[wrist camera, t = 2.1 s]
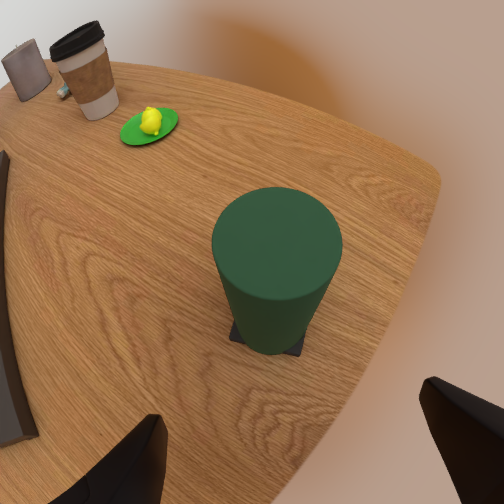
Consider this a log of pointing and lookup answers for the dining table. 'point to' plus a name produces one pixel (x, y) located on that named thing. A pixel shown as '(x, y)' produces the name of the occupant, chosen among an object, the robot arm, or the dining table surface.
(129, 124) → the green flat round tray
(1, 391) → the shoe shelf
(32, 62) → the pillar candle
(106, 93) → the coffee cup
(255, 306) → the green cylinder on block
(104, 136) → the dining table surface
